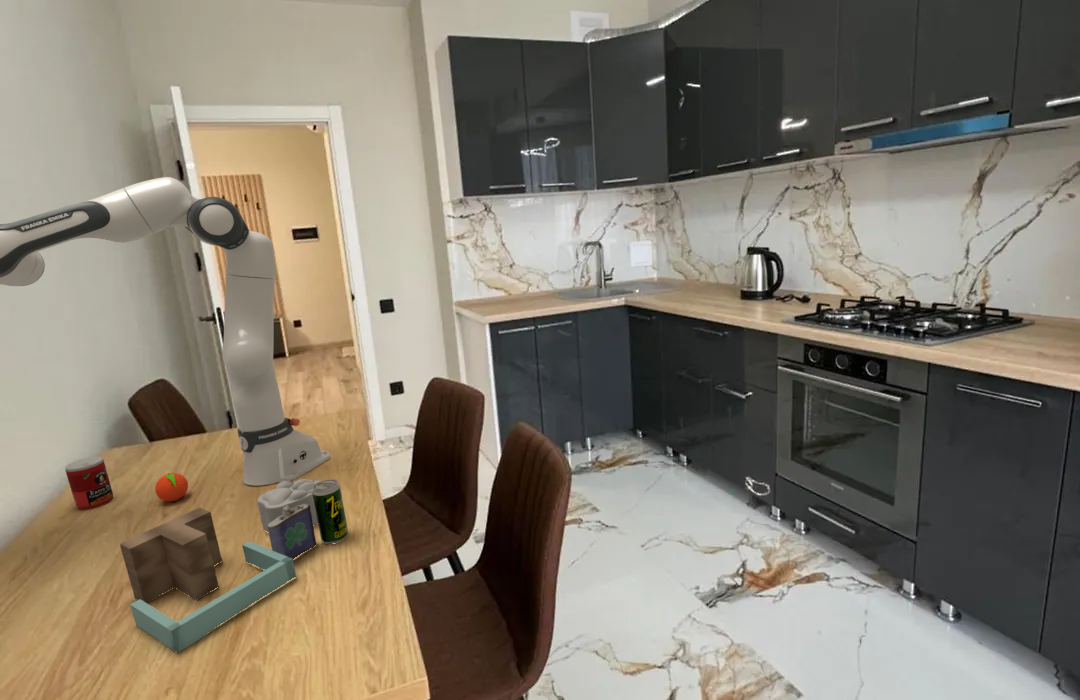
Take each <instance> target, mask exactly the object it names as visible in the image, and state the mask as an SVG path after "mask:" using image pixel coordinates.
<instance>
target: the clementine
mask: <svg viewBox="0 0 1080 700" xmlns="http://www.w3.org/2000/svg"><path fill="white" fill-rule="evenodd" d="M154 490H155V491H154V492H155V493H156V497H158V499H160V500H162V501H164V502H169V503H172V502H176V501H177V500H180V499H182V498H183V496H185V495H186V494H187V492H188V490H189V482H188V480H187V478H186V477H185V476H184V475H182V474H181V473H178V472H169V473H166V474H164V475H162V476H160V478H159V479H158V480H157V482H156V483H155V486H154Z"/></svg>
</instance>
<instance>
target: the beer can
mask: <svg viewBox="0 0 1080 700" xmlns="http://www.w3.org/2000/svg"><path fill="white" fill-rule="evenodd" d="M319 481H320V482H318V483H316V484H315V485H314V486H313V487H312V488H313V491H312V495H313V500H314V505H315V510H316V515H317V521H318V524H317V525H318V531H319V536H320V540H321V542H324V543H323V544H325V543H326V544H325V545H328V544H331V545H333V544H332V543H336V544H338V543H337V542H339V541H341V542H343V541H344V540H343V539H345V538H346V539H347V537H348V534H349V528H348V522H347V518H346V512H345V505H344V501H343V495H342V490H341V485H340V484H339V481H338V479H337V480H336V479H329V478H328V479H324V480H319ZM346 539H345V540H346ZM342 540H343V541H342ZM339 543H340V542H339Z"/></svg>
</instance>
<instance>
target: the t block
mask: <svg viewBox="0 0 1080 700" xmlns="http://www.w3.org/2000/svg"><path fill="white" fill-rule="evenodd" d="M214 525H215V524H214V521H213V517H212V512H211V511H209V510H208V509H205V508H203V507H198V508H195V509H193V510H191V511H189V512H186V513H185V514H182V515H180V516H179V517H176V518H173V519H171V520H169V521H167V522H164V523H163V524H160V525H158V526H156V527H154V528H151V529H149V530H146V531H144V532H142V533H140V534H138V535H135V536H133V537H130V538H129V539H127V540H124V541H123V542H120V543H119V546H120V549H121V553H122V554H121V555H122V556H123V561H124V564H125V568H126V572H127V575H128V578H129V582H130V586H131V589H132V592H133V596H134V599H136V601H137V600H139V599H141V600H142V601H144V602H145V603H147V604H149V603H150V602H152V601H153V600H152V599H154V598H156V597H157V598H159V597H160V596H159V595H161V594H162V593H165V592H167V591H168V590H170V589H172V588H174V587H175V588H177V589H178V590H177V589H176V590H177V591H179V590H180V591H181V592H180V591H179V592H180V593H182V592H183V593H182V594H184V593H185V594H184V595H186V594H187V595H189V596H190V598H191V597H192V598H191V599H193V598H194V599H193V600H194V601H196V600H197V599H199V598H201V597H202V598H204V597H205V596H204V595H206V594H207V593H209V592H210V591H212V590H214V589H215V588H217V587H219V588H220V586H219V582H218V578H217V574H216V569H215V567H214V565H216V564H217V563H220V562H221V561H222V562H223V559H222V555H221V551H220V546H219V543H218V537H217V533H216V530H215V526H214ZM220 564H221V563H220ZM175 588H174V589H175ZM172 590H173V589H172ZM170 591H171V590H170ZM167 593H168V592H167ZM165 594H166V593H165ZM209 594H210V593H209ZM187 595H186V596H187ZM158 596H159V597H158ZM161 596H162V595H161ZM189 596H188V597H189ZM203 596H204V597H203ZM206 596H207V595H206ZM157 598H156V599H157ZM202 598H201V599H202ZM151 600H152V601H151ZM154 600H155V599H154ZM199 600H200V599H199ZM149 601H150V602H149ZM197 601H198V600H197Z"/></svg>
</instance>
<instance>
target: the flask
mask: <svg viewBox="0 0 1080 700" xmlns="http://www.w3.org/2000/svg"><path fill="white" fill-rule="evenodd" d="M284 506H286V504H285V505H283V506H282V507H284ZM280 509H282V508H280ZM267 527H268V531H269V533H268V535H269V541H270V546H271V548H272V549H271V550H272V551H275V552H277V553H280V554H282V555H285V556H287V557H289V558H292V559H294V558H295V557H297V556H298V555H300V554H301V553H303V552H305V551H307V550H309V549H310V548H312V549H314V548H315V547H314V546H315V545H316V544H317V540H316V535H315V528H314V527H315V526H313V523H312V516H311V511H310V505H307V504H302V505H298V506H296V507H295V508H293V509H291V508H289V506H288V505H287V506H286V507H284V508H283V515H281V516H279V517H278V518H276V519H275V520H273V521H272V522H270V523H269V524H268V525H267ZM316 546H317V545H316ZM313 547H314V548H313ZM309 551H310V550H309ZM307 552H308V551H307Z"/></svg>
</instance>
